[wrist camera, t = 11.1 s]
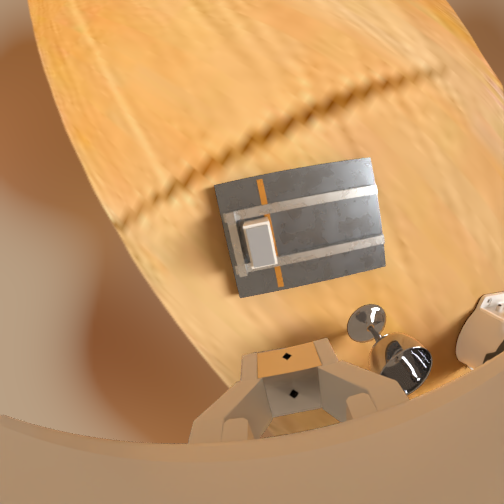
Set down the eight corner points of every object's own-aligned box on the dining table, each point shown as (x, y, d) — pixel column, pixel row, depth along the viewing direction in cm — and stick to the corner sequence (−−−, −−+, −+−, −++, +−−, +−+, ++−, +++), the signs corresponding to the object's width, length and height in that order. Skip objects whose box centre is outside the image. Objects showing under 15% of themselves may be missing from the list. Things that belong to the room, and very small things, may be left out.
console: (365, 158, 37) (378, 155, 33) (380, 262, 41) (394, 271, 36) (216, 185, 39) (210, 184, 34) (240, 293, 42) (238, 306, 37)
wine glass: (336, 337, 43) (365, 394, 29) (360, 295, 42) (402, 340, 27) (373, 349, 44) (408, 402, 29) (396, 310, 42) (442, 354, 28)
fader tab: (266, 216, 37) (269, 221, 31) (274, 252, 38) (278, 265, 32) (244, 220, 37) (242, 227, 31) (252, 257, 38) (252, 270, 32)
